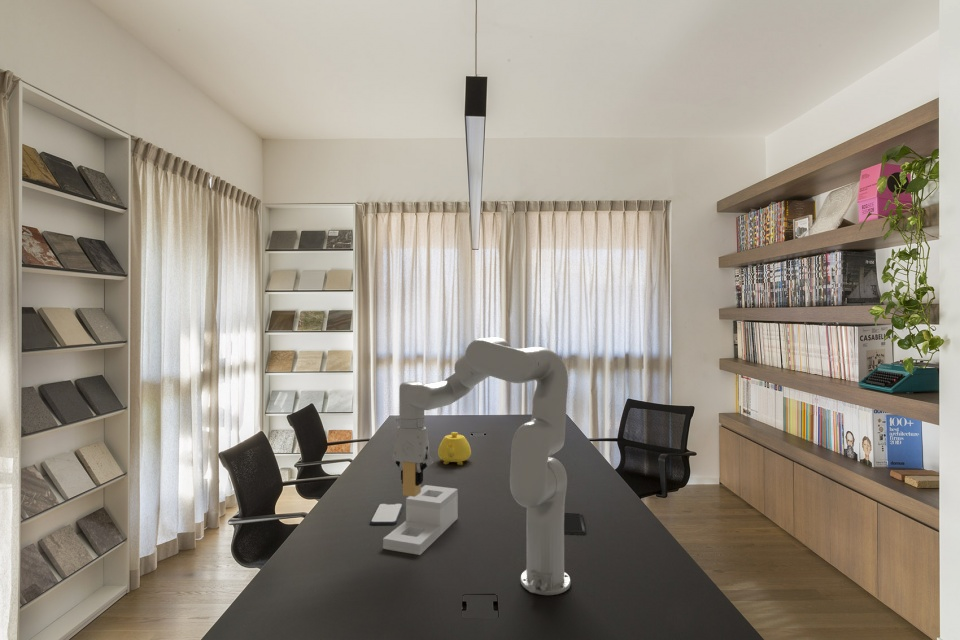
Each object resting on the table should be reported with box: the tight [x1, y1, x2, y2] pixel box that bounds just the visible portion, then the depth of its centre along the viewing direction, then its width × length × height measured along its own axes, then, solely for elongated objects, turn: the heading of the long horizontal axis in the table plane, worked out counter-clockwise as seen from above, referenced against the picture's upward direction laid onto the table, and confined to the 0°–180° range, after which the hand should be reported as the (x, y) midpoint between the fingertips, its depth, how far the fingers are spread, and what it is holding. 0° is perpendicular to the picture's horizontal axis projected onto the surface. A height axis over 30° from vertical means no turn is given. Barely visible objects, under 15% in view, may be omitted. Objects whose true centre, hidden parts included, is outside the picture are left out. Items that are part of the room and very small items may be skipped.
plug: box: [402, 462, 422, 497], centre depth 154 cm, size 4×4×10 cm
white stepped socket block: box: [382, 484, 459, 556], centre depth 161 cm, size 28×12×10 cm, turn 160°
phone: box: [564, 512, 587, 535], centre depth 167 cm, size 8×1×15 cm
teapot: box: [437, 431, 472, 466], centre depth 238 cm, size 20×16×14 cm
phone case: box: [369, 503, 404, 526], centre depth 175 cm, size 9×2×16 cm
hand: (411, 482), depth 154 cm, fingers closed on plug, 3 cm apart
